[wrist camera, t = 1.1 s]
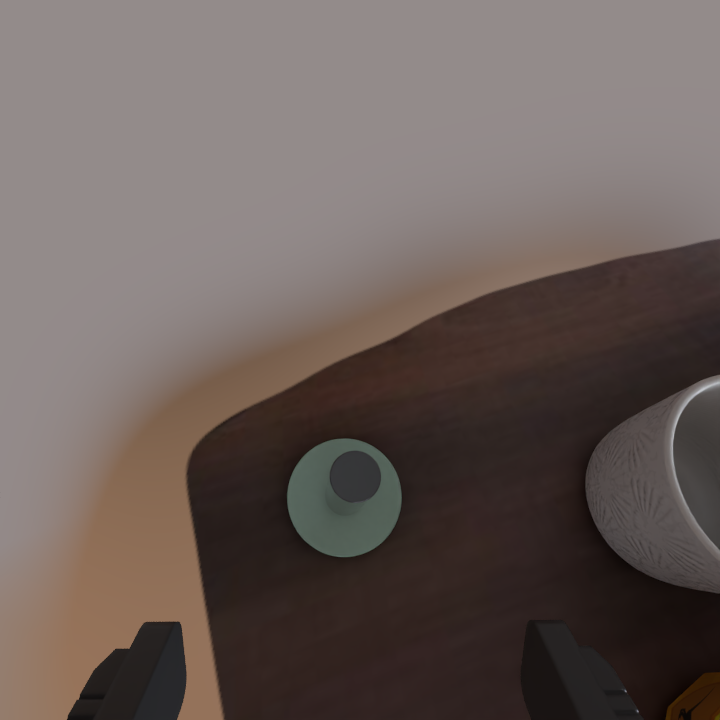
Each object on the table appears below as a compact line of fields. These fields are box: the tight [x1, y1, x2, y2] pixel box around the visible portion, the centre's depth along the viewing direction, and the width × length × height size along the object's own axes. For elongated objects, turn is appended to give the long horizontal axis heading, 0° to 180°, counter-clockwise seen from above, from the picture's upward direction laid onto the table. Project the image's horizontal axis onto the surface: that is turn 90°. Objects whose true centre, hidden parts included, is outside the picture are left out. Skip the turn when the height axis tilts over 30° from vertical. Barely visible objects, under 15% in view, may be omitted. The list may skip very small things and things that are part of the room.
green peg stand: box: [287, 438, 402, 557], centre depth 30 cm, size 8×8×9 cm
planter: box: [585, 375, 720, 594], centre depth 31 cm, size 12×12×11 cm
